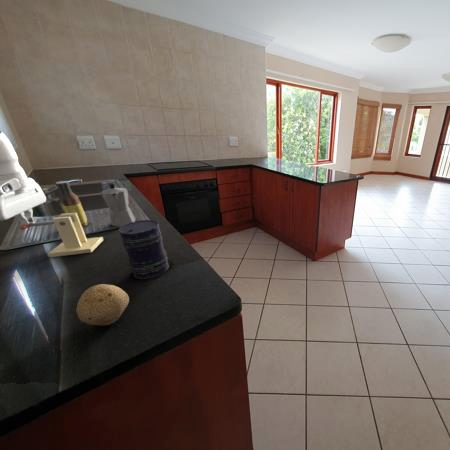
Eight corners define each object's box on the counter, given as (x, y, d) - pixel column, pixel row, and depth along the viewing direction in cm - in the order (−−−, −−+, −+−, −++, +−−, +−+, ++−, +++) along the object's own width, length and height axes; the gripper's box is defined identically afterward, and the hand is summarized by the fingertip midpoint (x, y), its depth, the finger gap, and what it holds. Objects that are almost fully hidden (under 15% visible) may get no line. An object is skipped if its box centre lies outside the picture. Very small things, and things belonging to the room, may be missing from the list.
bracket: (49, 257, 80) (32, 222, 75) (66, 244, 89) (52, 212, 84) (91, 252, 84) (78, 219, 79) (103, 240, 92) (92, 209, 87)
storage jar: (151, 259, 80) (140, 218, 74) (176, 263, 78) (166, 221, 72) (124, 276, 71) (109, 231, 65) (151, 281, 69) (138, 235, 63)
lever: (21, 231, 77) (17, 225, 76) (32, 226, 82) (28, 219, 81) (69, 225, 81) (66, 219, 80) (77, 220, 85) (74, 214, 84)
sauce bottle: (74, 224, 106) (56, 180, 99) (91, 222, 108) (75, 179, 101) (67, 229, 101) (47, 184, 93) (85, 227, 103) (67, 182, 95)
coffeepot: (137, 225, 106) (125, 185, 99) (111, 230, 101) (97, 189, 94) (135, 214, 118) (124, 179, 110) (111, 218, 113) (99, 181, 105)
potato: (73, 339, 50) (54, 302, 46) (101, 309, 59) (87, 275, 55) (118, 336, 51) (103, 300, 47) (140, 307, 59) (129, 274, 55)
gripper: (19, 176, 82) (37, 213, 87) (-37, 191, 64) (-10, 237, 69) (42, 175, 84) (58, 212, 89) (-6, 190, 66) (17, 234, 71)
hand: (28, 223), depth 79 cm, fingers closed, pressing on lever
